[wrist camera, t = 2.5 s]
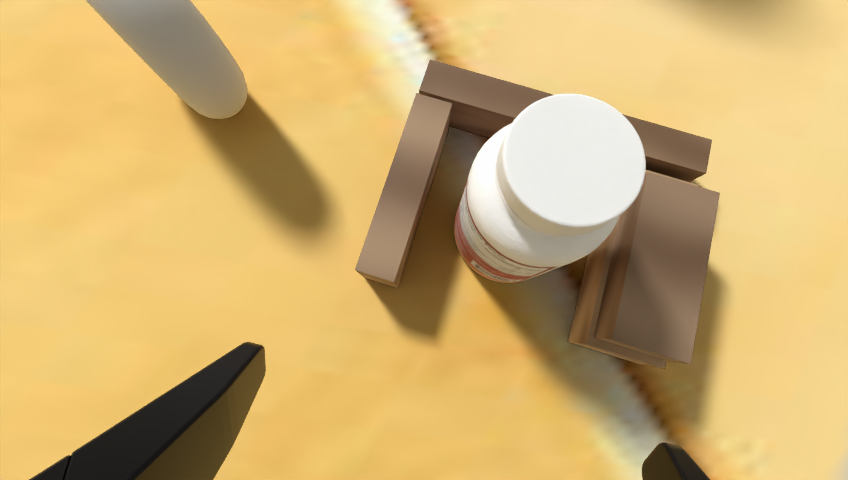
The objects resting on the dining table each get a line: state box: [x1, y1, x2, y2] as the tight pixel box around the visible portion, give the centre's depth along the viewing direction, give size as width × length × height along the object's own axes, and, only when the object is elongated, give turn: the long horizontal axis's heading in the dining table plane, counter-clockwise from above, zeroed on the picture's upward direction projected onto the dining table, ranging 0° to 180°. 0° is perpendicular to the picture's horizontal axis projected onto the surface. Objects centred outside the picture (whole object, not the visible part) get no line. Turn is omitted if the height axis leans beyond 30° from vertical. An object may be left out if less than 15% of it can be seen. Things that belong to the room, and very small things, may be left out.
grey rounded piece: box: [86, 0, 247, 119], centre depth 21 cm, size 10×4×10 cm, turn 44°
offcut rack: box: [355, 60, 720, 369], centre depth 22 cm, size 12×16×4 cm
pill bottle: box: [454, 94, 646, 283], centre depth 18 cm, size 6×6×11 cm
